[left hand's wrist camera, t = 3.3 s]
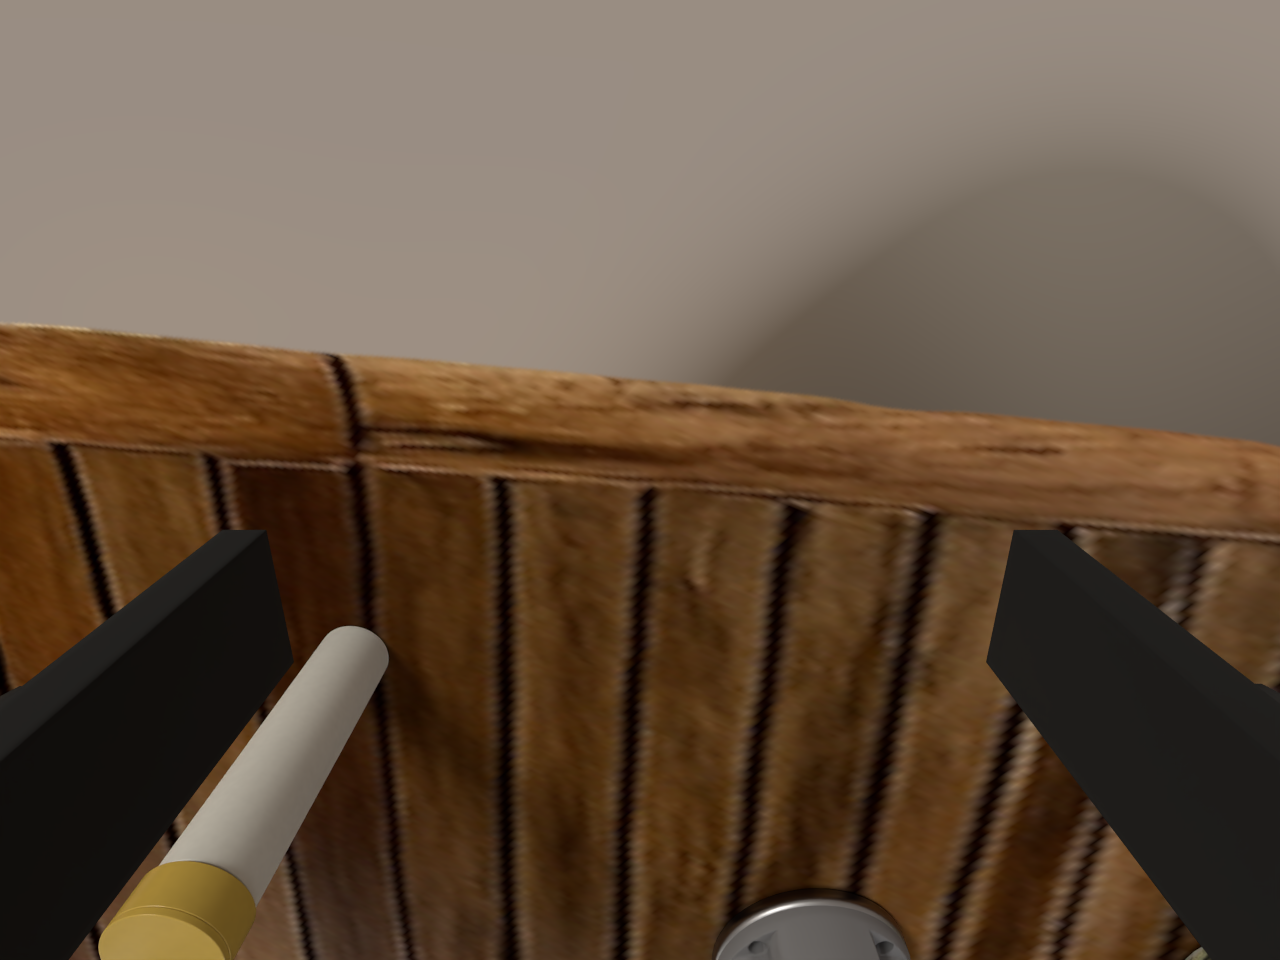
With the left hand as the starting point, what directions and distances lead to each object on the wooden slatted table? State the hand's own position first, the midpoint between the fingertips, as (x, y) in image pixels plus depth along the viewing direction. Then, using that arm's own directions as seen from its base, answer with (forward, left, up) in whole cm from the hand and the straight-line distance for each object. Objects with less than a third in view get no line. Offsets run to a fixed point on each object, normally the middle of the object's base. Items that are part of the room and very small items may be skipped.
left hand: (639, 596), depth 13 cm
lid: (-21, +19, -8) cm, 29 cm away
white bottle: (-21, +19, -28) cm, 40 cm away
